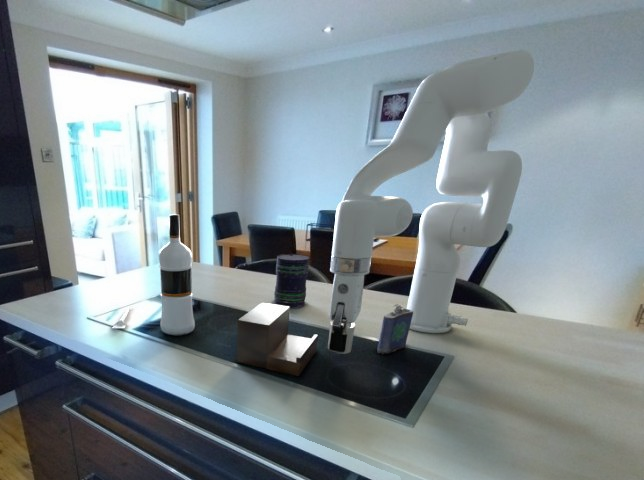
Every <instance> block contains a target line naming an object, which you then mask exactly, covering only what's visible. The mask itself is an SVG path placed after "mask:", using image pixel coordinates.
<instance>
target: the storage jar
mask: <svg viewBox="0 0 644 480" xmlns="http://www.w3.org/2000/svg"><path fill="white" fill-rule="evenodd" d="M309 261H310V256H308V255H306V254H299V253H285V254H284V253H283V254H278V255H277V256H276V265H275V275H276V278H275V286H274V293H273V295H274V300H273V304H276V305H282V306H289V307H290V309H298V308H302V307H304V306H305V305H306V302H305V300H306V296H307V287H306V286H307V278H308V274H309V268H310V266H309V264H310V262H309Z"/></svg>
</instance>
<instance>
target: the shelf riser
mask: <svg viewBox="0 0 644 480" xmlns="http://www.w3.org/2000/svg"><path fill="white" fill-rule="evenodd" d="M290 314H291V308H290V307H289V306H282V305H276V304H274V303H268V302H261V303H259V304H258V305H256V306H255V307H253V309H251V310H249V311H248V312H247V313H245V314H244V315H243V316H241V317H240V318H239V319H237V336H236V340H237V341H236V363H240V364H245V365H249V366H252V367H257V368H262V369H264V370H265V369H266V370H269V371H275V372H278V373H282V374H286V375H291V376H295V377H299V376H300V375H301V374H302V372H303V371H304V370H305V368H306V366H307V365H308V364H309V362H310V361H311V359H312V358H313V356H314V355H315V354H316V353H317V347H318V340H319V339H318V338H319V335H318V334H313V336H312V337H311V338H310V337H304V336H300V335H299V336H298V335H293V334H289V325H290V324H289V323H290Z"/></svg>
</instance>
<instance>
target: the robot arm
mask: <svg viewBox="0 0 644 480" xmlns="http://www.w3.org/2000/svg"><path fill="white" fill-rule="evenodd" d="M534 70H535V61H534V58H533V55H532V54H531V53H530V52H529V51H528V50H526V49H517V50H510V51H506V52H501V53H497V54H493V55H488V56H483V57H478V58H473V59H468V60H465V61H461V62H457V63H454V64H451V65H449V66H447V67H445V68H443V69H442V70H439V71H436V72H433V73H431V74H430V75H428V76H427V77H425V78H424V79H423V80H422V81H421V82H420V84H419V85H418V86H417V88H416V90H415V92H414V95H413V97H412V99H411V100H410V102H409V105H408V107H407V109H406V111H405V113H404V115H403V117H402V120H401V122H400V123H399V126H398V128H397V130H396V132H395V134H394V136H393V138H392V140H391V142H390V143H389V144H388V145H387V146H386V147H385V148H383V149H382V150H380V151H379V152H378V153H377V154H375V155H374V156H373V157H372V158H371V159H369V161H367V162H366V163H365V164H364V165H363V166H362V167H361V168H360V169H359V170H358V171H357V172H356V173H355V175H354V176H353V178H352V179H351V181H350V182H349V184H348V186H347V189H346V190H345V193H344V195H343V197H342V199H341V202H339V203H338V205H337V207H336V212H335V221H334V229H333V239H332V240H333V241H332V248H331V256H330V257H331V258H330V266H329V267H330V268H329V272H331V273H332V274H334V277H333V282H332V291H331V299H330V306H329V319H330V320H331V321H333V326H332V332H331V338H330V347H329V349H330V350H334V351H339V352H344V351H345V348H346V340H347V334H346V330H347V324H348V322H350V323H355V322H356V320H357V318H358V317H359V316H360V313H361V310H362V305H363V304H362V302H363V294H364V284H365V276H366V275H369V274H370V270H371V263H372V255H373V250H374V241H375V237H393V236H397V235H400V234H401V233H403V232H405V230H407V228H408V227H409V226H410V224H411V222H412V220H413V213H414V212H413V206H412V205H411V203H410V202H409V201H408V200H407V199H405V198H403V197H398V196H382V195H373V193H374V192H375V191H376V190H377V189H378V188H379V187H380V186H381V185H383V184H384V183H386V182H387V181H389V180H390V179H392V178H394V177H396V176H399V175H402V174H404V173H407V172H408V171H411V170H413V169H416V168H418V167H420V166H422V165H424V164H426V163H428V162H429V161H430V160H431V159H432V158H433V157H434V155H435V153H436V151H437V149H438V147H439V146H440V143H441V141H442V138H443V137H444V135H445V139H444V143H443V148H442V152H441V157H440V161H439V166H438V172H437V176H436V185H435V186H436V190H437V192H438V193H439V194H441V195H444V196H450V197H467V198H469V197H471V198H474V197H475V198H482V199H483V203H476V202H475V203H474V202H460V201H441V202H436V203H433V204H431V205H429V206H428V207H426V208H425V209H424V211H423V212H422V214H421V217H420V218H419V219H420V220H419V239H418V241H419V242H418V251H417V256H416V262H415V267H414V271H413V276H412V280H411V286H410V290H409V294H408V295H409V296H408V300H407V304H406V309H409V310H412V311H413V316H412V320H411V324H410V328H409V330H412V331H416V332H422V333H426V334H427V333H428V334H429V333H430V334H441V333H443V334H444V333H447V332H449V331H450V330H451V329H452V324H454V325H458V326H465V327H466V326H467V324H468V321H469V318H468V317H462V315H457V314H456V315H455V314H452V313H450V309H449V308H450V305H451V301H452V296H453V294H454V293H453V292H454V289H455V285H456V280H457V277H458V272H459V270H460V264H461V258H460V255H459V252H458V249H457V247H456V245H459V246H466V247H477V248H489V247H493V246H495V245H496V244H498V243H499V242H500V240H501V239H502V237H503V235H504V233H505V231H506V228H507V225H508V222H509V219H510V215H511V212H512V208H513V206H514V205H513V204H514V201H515V199H516V195H517V191H518V188H519V184H520V180H521V177H522V173H523V172H522V170H523V162H522V157H521V156H520V154H518V152H516V151H514V150H507V149H506V150H504V149H503V150H502V149H501V150H488V147H489V141H490V137H491V133H492V129H493V127H492V126H493V125H492V120H491V118H490V116H489V114H488V113H490V112H493V111H495V110H498V109H499V108H501V107H504V106H505V105H508V104H510V103H512V102H514V101H516V100H517V99H518V98H519V97H520V96H521V95H522V94H524V92H525V91H526V89H528V87H529V85H530V83H531V81H532V79H533V76H534ZM341 323H344V327H343V326H342V325H341ZM330 350H329V351H330Z"/></svg>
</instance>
